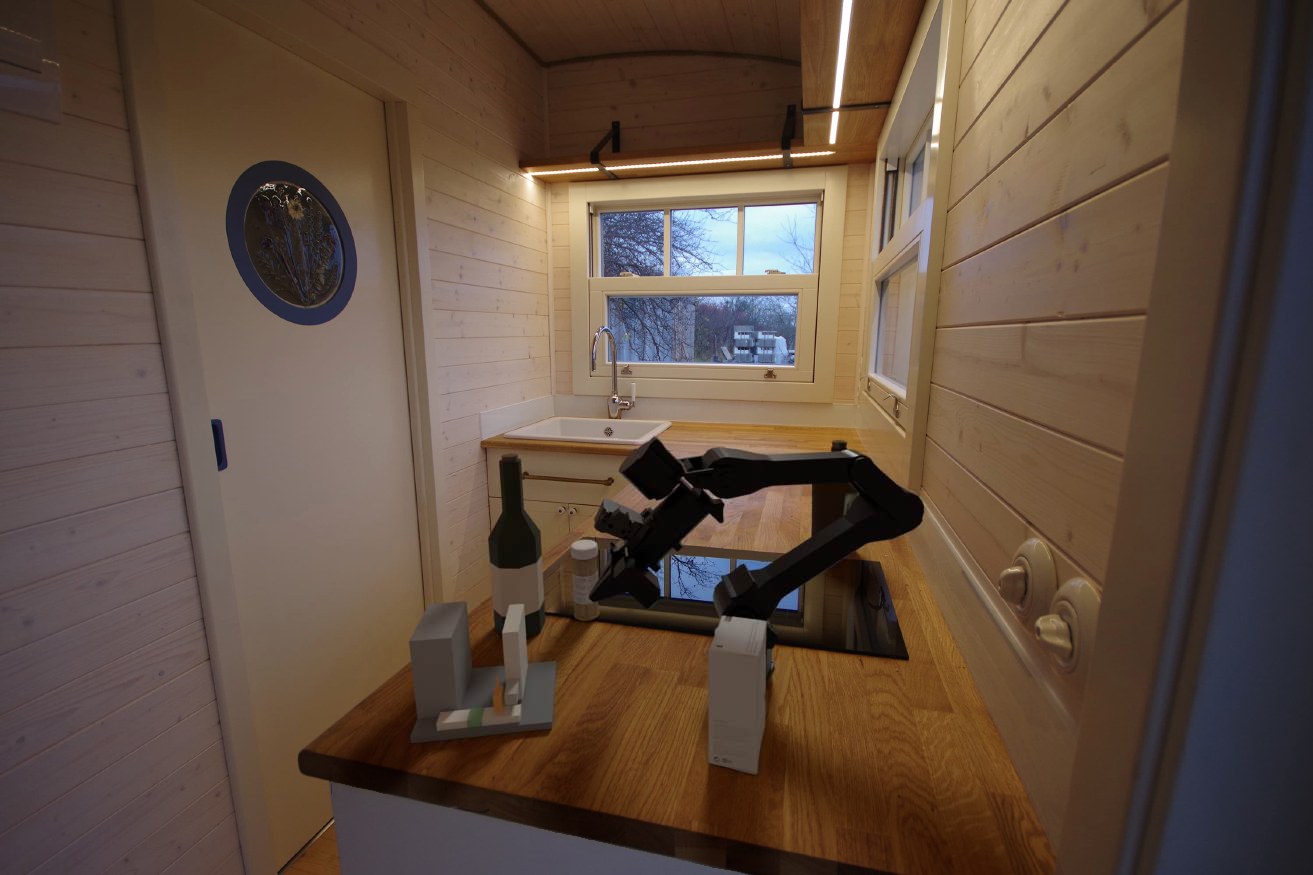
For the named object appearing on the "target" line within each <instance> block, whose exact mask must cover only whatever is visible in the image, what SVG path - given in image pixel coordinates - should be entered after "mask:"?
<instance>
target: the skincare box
mask: <svg viewBox="0 0 1313 875" xmlns="http://www.w3.org/2000/svg"><path fill="white" fill-rule="evenodd" d="M766 624H767V622H766V621H762V620H755V619H746V618H738V617H730V616H722V617H721V620H720V619H719V624H718V627H716V628H715V630H714V637H713V639H712V642H711V644H710V646H709V647H708V654H707V656H708V660H707V663H708V664H707V667H708V670H707V672H708V675H707V676H708V678H707V680H708V682H707V683H708V685H707V687H708V688H707V689H708V690H707V691H708V692H707V693H708V694H707V696H708V699H707V700H708V704H707V705H708V706H707V707H708V708H707V710H708V717H707V718H708V722H707V723H708V727H707V728H708V729H707V730H708V732H707V733H708V742H707V743H708V745H707V746H708V757H707V758H708V763H709V764H711V765H715V766H719V767H721V766H722V767H724V768H725V767H726V768H728V769H731V770H736V771H738V772H742V773H746V774H750V775H753V776H754V775H757V774H758V770H759V758H760V752H761V751H760V750H761V744H762V741H763V737H764V732H765V729H766V695H767V694H766V689H767V688H766V685H767V682H766Z"/></svg>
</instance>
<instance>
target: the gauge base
mask: <svg viewBox="0 0 1313 875" xmlns="http://www.w3.org/2000/svg"><path fill="white" fill-rule="evenodd" d="M467 603H468V602H467V601H465V600H464V601H453V602H452V601H450V602H437V603H428V606H427V607H426V609H425V611H424V612H423V615H422V616H421V618H420V620H419V621H418V623H417V625H416V627H415V629H414V631H413V633H412V634H411V636H410V638H409V640H408V645H409V654H410V655H409V656H410V663H411V671H412V681H413V691H414V699H415V707H416V715H417V716H416V718H417V719H416V722H415V724H414V726H413V728H412V731H411V734H410V738H409V739H410V744H418V743H429V742H437V741H447V740H456V739H457V740H458V739H467V738H476V737H477V738H478V737H484V736H485V737H486V736H495V735H502V734H503V735H504V734H513V733H525V732H531V731H532V732H533V731H541V730H551V729H553V724H554V722H553V721H554V710H555V709H554V708H555V697H556V696H555V694H556V682H557V669H558V668H557V665H558V664H557V660H552V661H550V660H549V661H542V662H541V661H539V662H530V663H528V669H527V675H526V681H525V688H524V694H523V700H518V703H517V704H513V705H505V698H504V707H503V712H500V713H494V704H493V694H494V689H495V687H496V676H499V686H503V689H504V694H505V689H506V679H505V665H496V666H493V665H492V666H484V667H473V662H472V661H473V660H472V650H471V640H470V639H471V638H470V637H471V636H470V628H469V617H468V604H467Z"/></svg>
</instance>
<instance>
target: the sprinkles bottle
mask: <svg viewBox="0 0 1313 875" xmlns="http://www.w3.org/2000/svg"><path fill="white" fill-rule="evenodd" d="M598 549H599V548H598V543H597V542H596V541H595V540H591V539H581V540H576V541H574V542H573V543H572V544H571V546H570V556H571V559H572V560H571V564H572V573H571V574H572V596H573V605H574V607H573V608H574V609H573V610H574V611H573V617H574V618H575V619H576V620H578V621H582V622H588V621H594V620H595V619H596V618H598V617H599V615H600V609H599V607H600V606H599V601H597V602H592V601H591V600H590V599H589V594H590V592H591V590H592V589H593V587H594V585H595V584H596V582H597V580H598V579H599V569H598V554H599V552H598Z"/></svg>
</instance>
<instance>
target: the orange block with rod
mask: <svg viewBox="0 0 1313 875" xmlns="http://www.w3.org/2000/svg"><path fill="white" fill-rule="evenodd" d="M493 704H494V713H500V712H503V707H504V689H503V686H499V676H496V687H495V689H494V694H493Z"/></svg>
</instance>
